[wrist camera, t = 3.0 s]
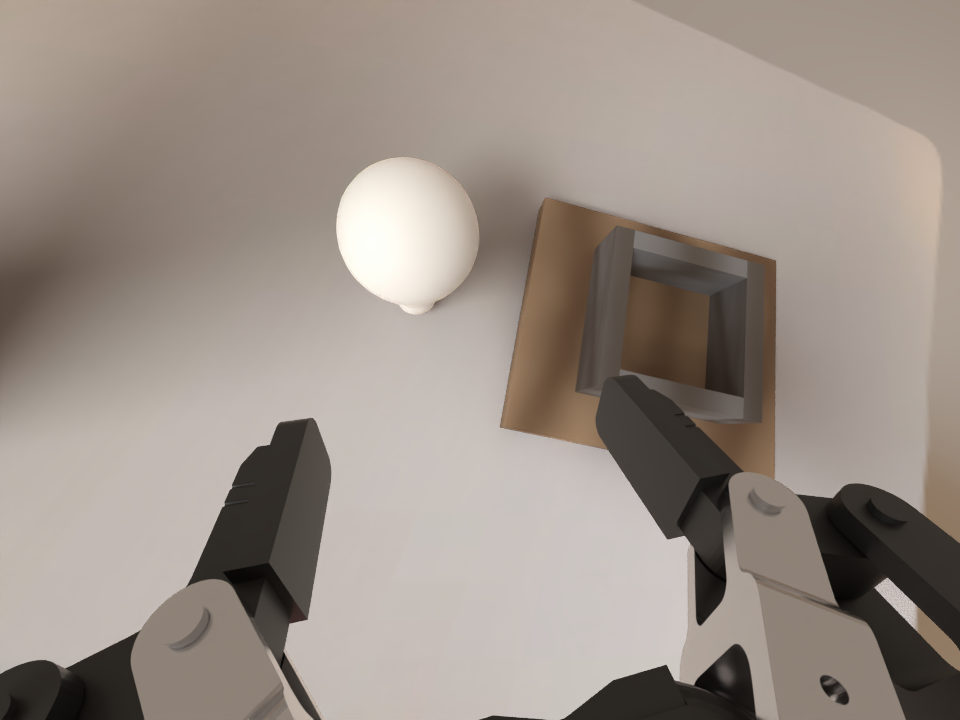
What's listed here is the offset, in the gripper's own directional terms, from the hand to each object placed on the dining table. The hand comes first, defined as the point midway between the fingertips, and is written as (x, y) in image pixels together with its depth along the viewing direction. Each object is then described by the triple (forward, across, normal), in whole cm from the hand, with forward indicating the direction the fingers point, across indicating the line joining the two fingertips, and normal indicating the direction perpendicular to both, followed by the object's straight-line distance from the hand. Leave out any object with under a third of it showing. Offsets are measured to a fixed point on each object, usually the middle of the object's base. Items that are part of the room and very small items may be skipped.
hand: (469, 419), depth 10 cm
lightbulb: (+15, +1, +3) cm, 15 cm away
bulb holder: (+12, -14, +6) cm, 20 cm away
